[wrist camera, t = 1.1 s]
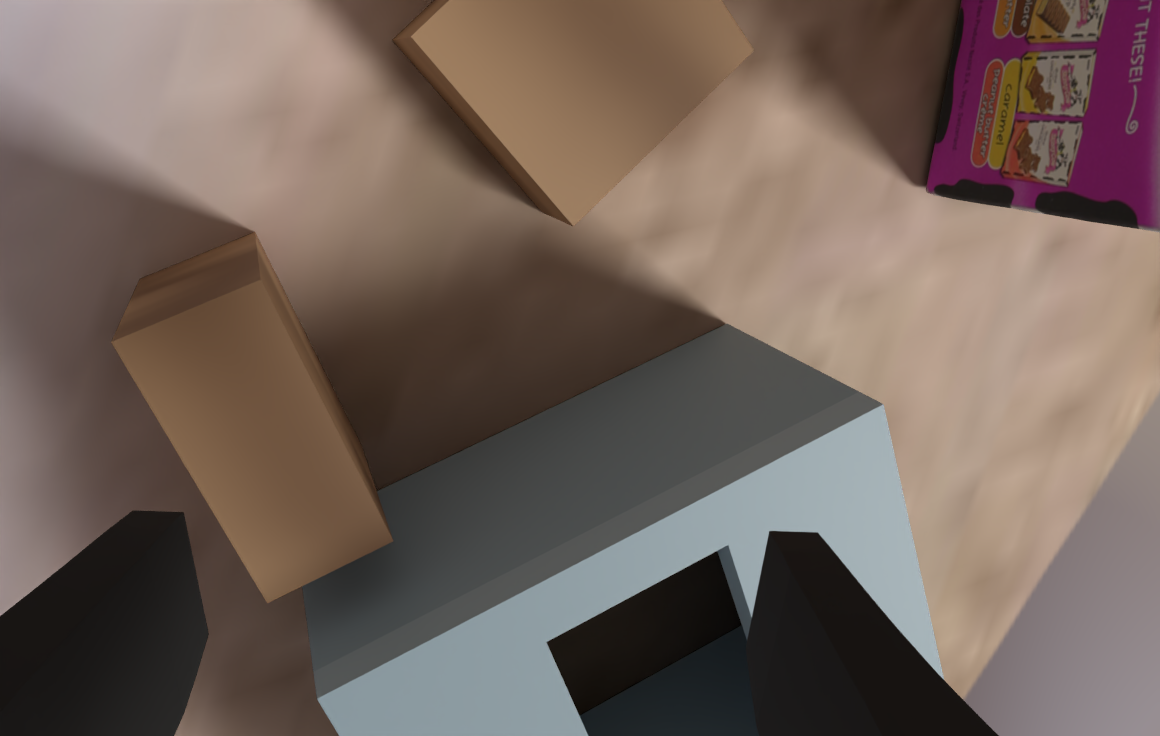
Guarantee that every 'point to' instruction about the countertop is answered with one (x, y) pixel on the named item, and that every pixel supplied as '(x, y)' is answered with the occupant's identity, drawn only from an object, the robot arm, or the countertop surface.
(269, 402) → the block
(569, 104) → the block
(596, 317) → the countertop surface
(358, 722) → the box
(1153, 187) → the candy bar box
